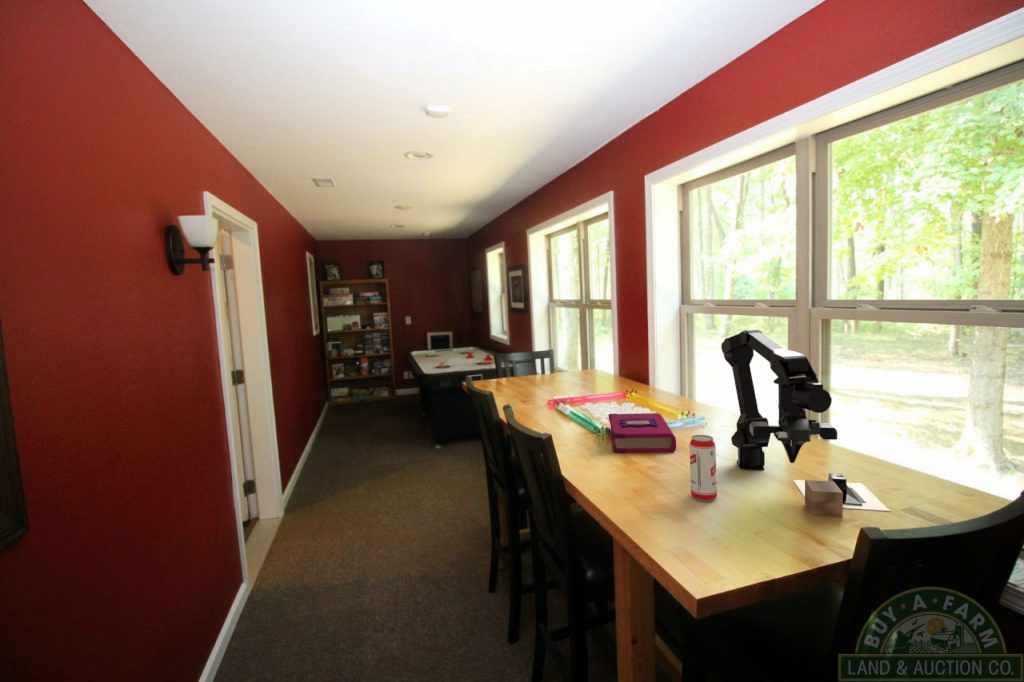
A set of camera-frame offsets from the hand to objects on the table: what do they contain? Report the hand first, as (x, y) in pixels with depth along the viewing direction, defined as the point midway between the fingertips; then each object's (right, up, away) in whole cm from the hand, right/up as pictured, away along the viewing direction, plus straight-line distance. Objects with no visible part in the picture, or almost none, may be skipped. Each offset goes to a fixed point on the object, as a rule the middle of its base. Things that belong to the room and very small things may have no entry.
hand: (791, 462), depth 120 cm
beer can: (-23, -10, +1) cm, 24 cm away
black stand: (+10, -7, -3) cm, 13 cm away
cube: (+1, -9, -10) cm, 13 cm away
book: (-25, -6, +51) cm, 57 cm away
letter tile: (+10, -8, -2) cm, 13 cm away
